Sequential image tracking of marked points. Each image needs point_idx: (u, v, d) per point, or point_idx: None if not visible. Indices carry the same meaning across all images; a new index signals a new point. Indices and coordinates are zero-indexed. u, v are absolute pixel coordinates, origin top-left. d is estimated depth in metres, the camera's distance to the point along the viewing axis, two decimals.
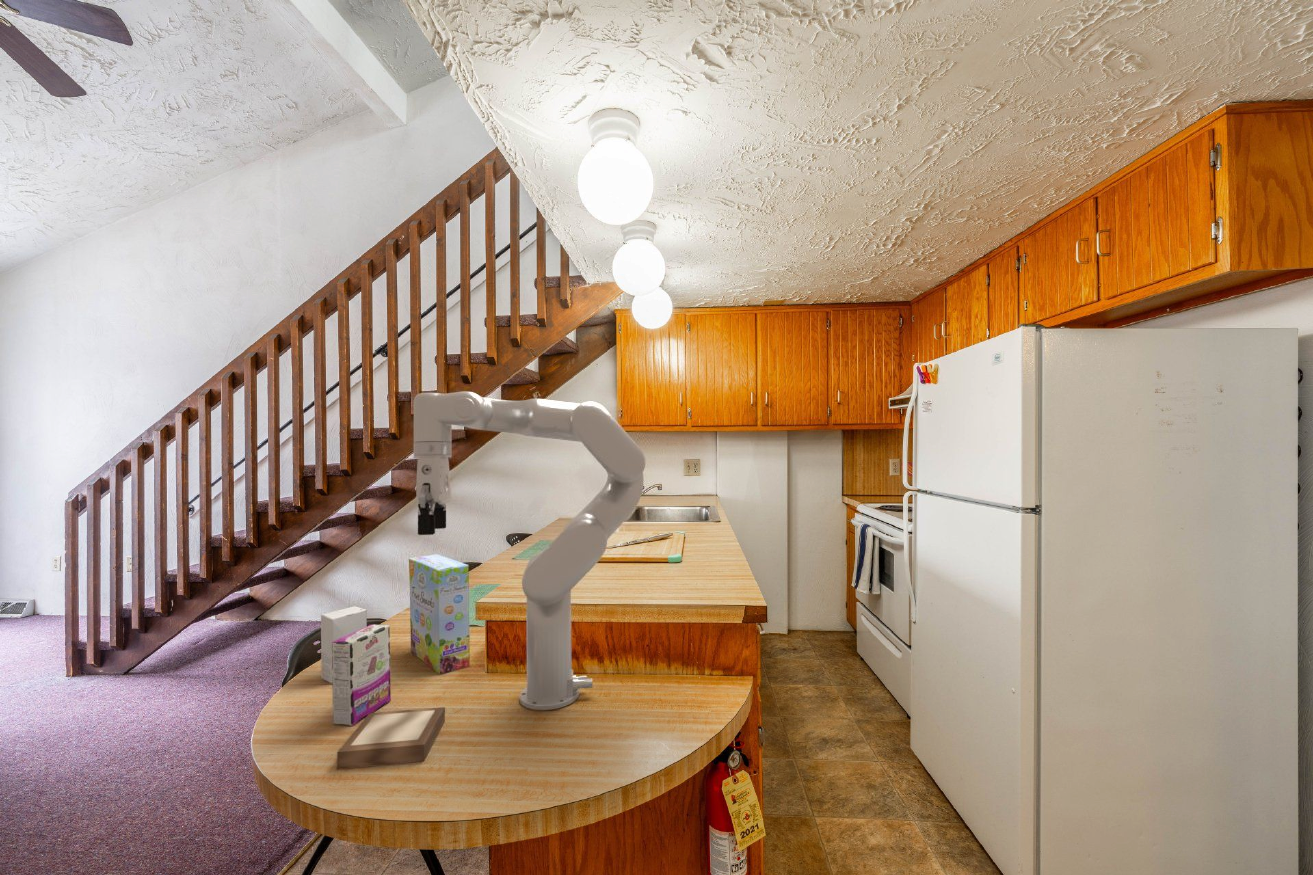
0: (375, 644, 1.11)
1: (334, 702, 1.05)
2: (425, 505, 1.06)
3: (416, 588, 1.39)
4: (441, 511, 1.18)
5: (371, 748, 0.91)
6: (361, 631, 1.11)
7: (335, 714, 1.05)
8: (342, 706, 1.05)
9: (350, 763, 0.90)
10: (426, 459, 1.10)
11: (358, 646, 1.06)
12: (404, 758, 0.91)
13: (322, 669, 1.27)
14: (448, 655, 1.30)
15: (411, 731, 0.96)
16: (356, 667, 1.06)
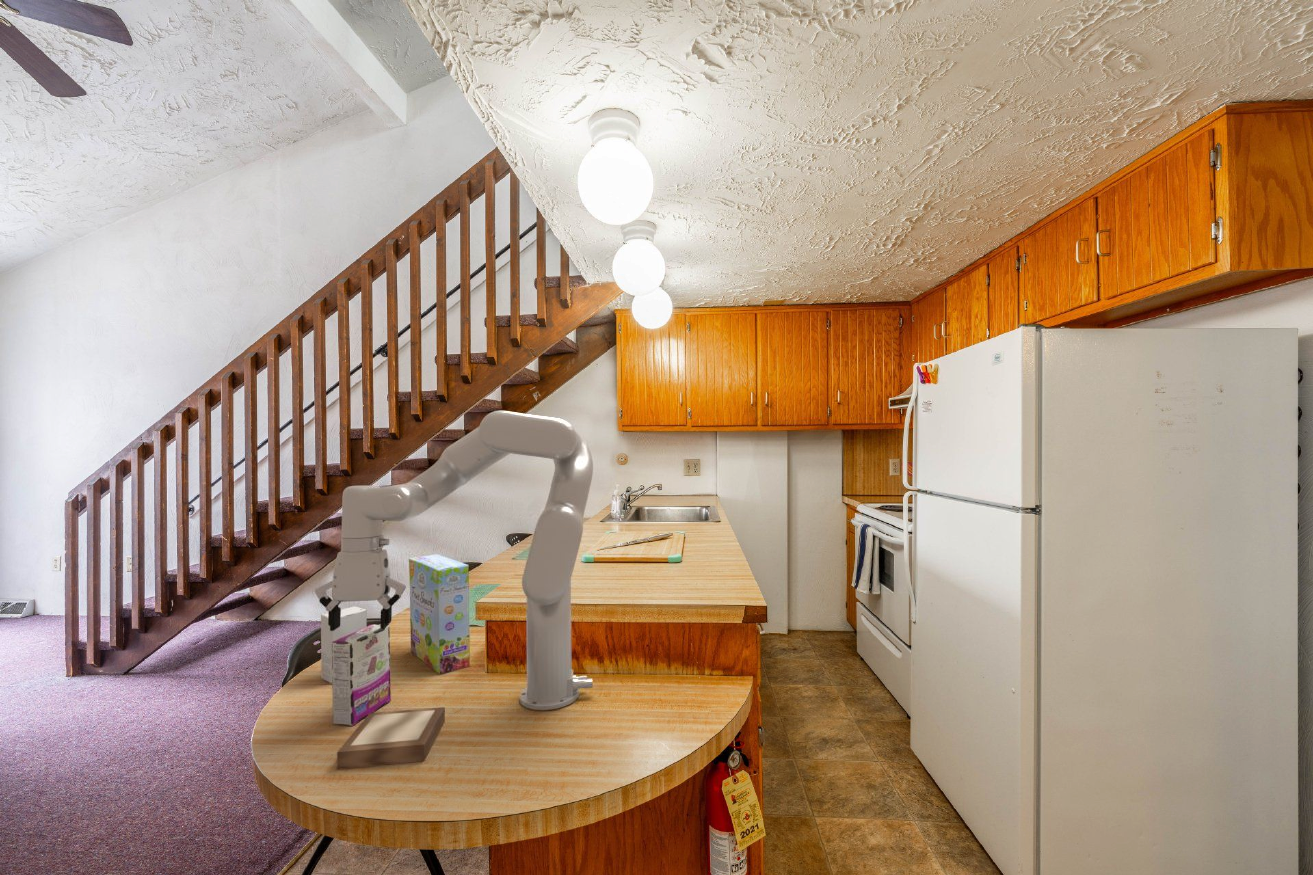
0: (375, 644, 1.11)
1: (334, 702, 1.05)
2: (400, 596, 1.12)
3: (416, 588, 1.39)
4: (338, 609, 1.11)
5: (371, 748, 0.91)
6: (361, 631, 1.11)
7: (335, 714, 1.05)
8: (342, 706, 1.05)
9: (350, 763, 0.90)
10: (384, 553, 1.12)
11: (358, 646, 1.06)
12: (404, 758, 0.91)
13: (322, 669, 1.27)
14: (448, 655, 1.30)
15: (411, 731, 0.96)
16: (356, 667, 1.06)
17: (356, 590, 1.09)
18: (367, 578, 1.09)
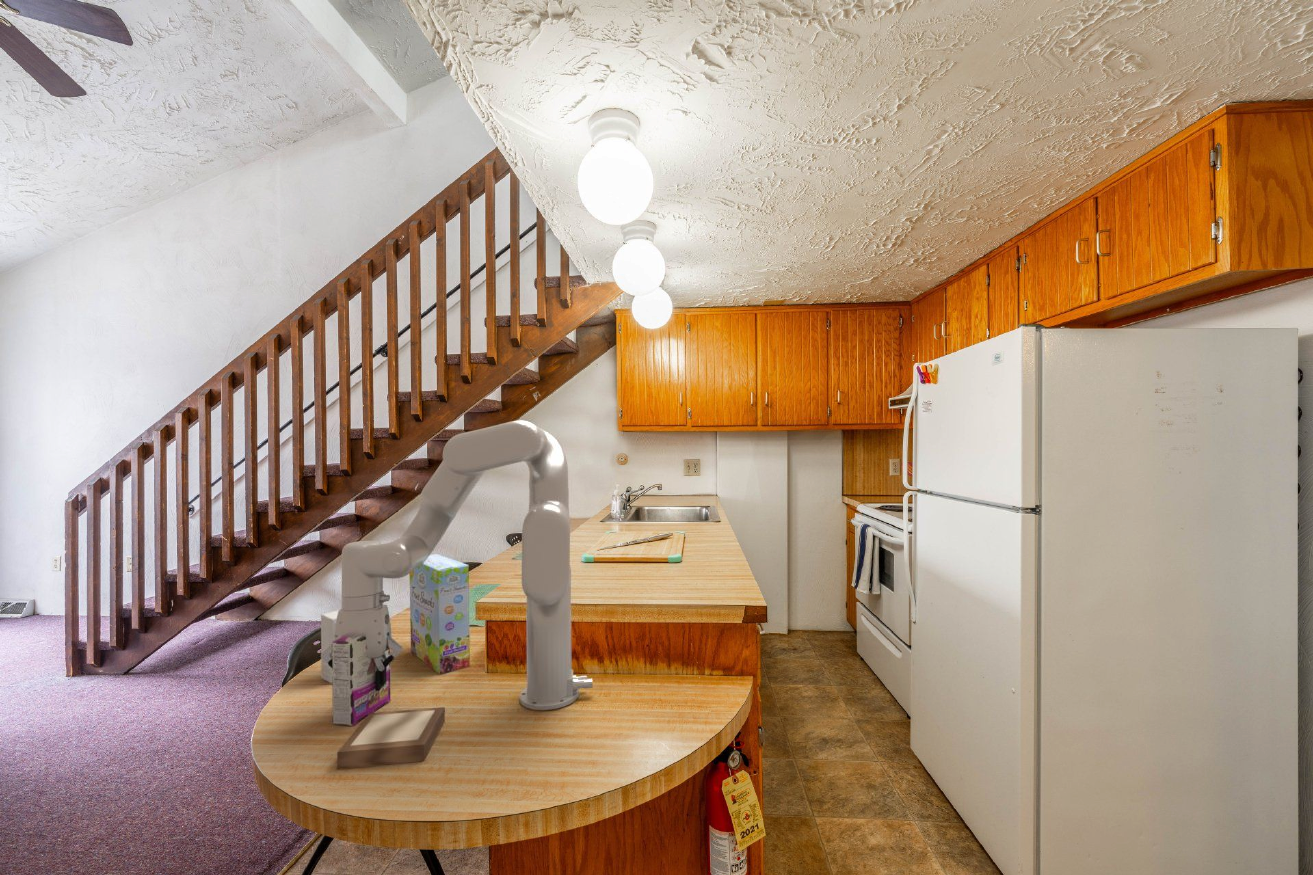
0: None
1: (333, 702, 1.05)
2: None
3: (416, 588, 1.39)
4: None
5: (371, 748, 0.91)
6: None
7: (335, 714, 1.05)
8: (342, 706, 1.05)
9: (350, 763, 0.90)
10: (384, 609, 1.11)
11: (358, 646, 1.06)
12: (404, 758, 0.91)
13: (322, 669, 1.27)
14: (448, 655, 1.30)
15: (411, 731, 0.96)
16: (356, 667, 1.06)
17: None
18: (368, 636, 1.08)
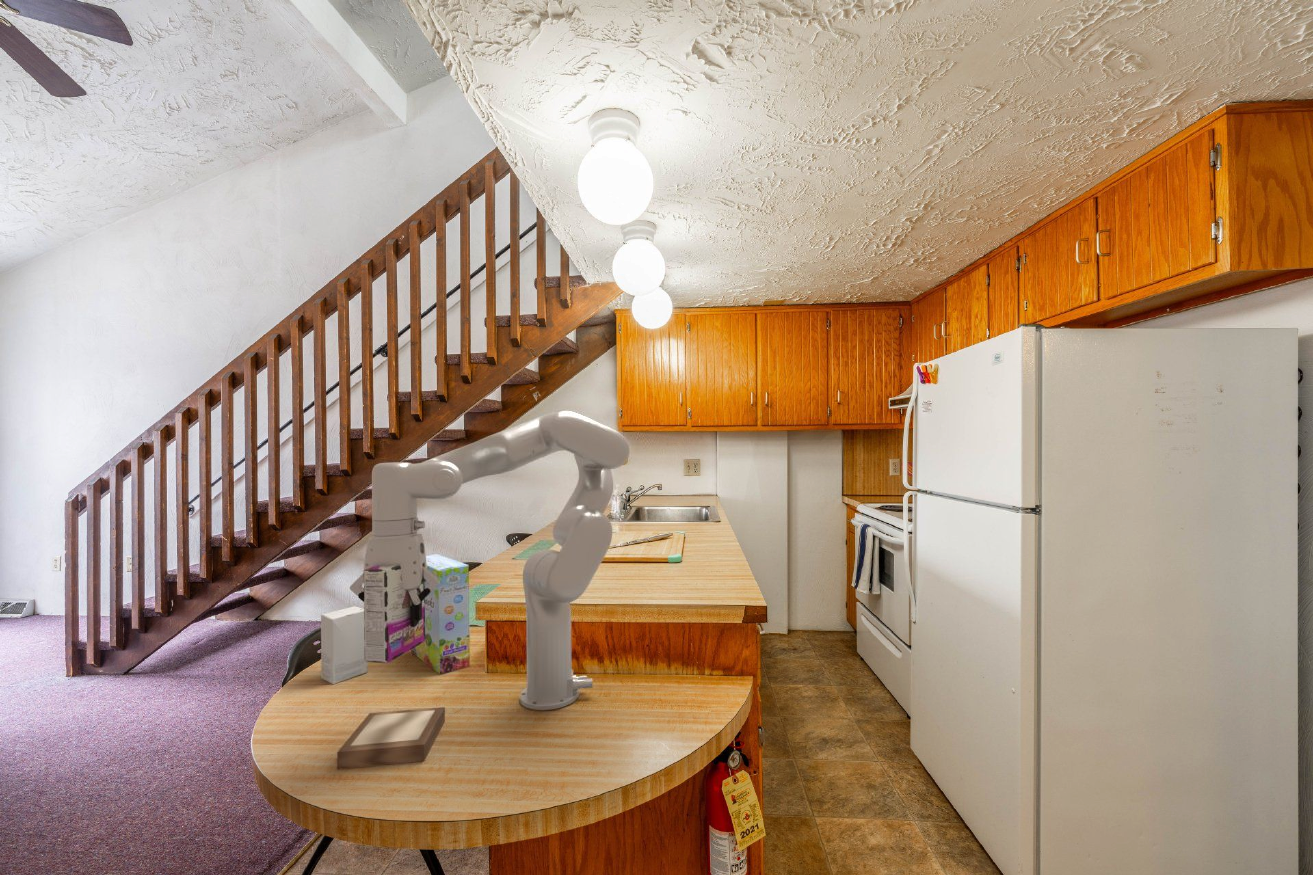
0: None
1: (365, 637, 0.94)
2: (430, 591, 1.00)
3: None
4: None
5: (371, 748, 0.91)
6: None
7: (367, 650, 0.94)
8: (375, 641, 0.93)
9: (350, 763, 0.90)
10: (419, 537, 1.00)
11: (392, 575, 0.95)
12: (404, 758, 0.91)
13: (322, 669, 1.27)
14: (448, 655, 1.30)
15: (411, 731, 0.96)
16: (391, 598, 0.94)
17: None
18: (402, 565, 0.97)
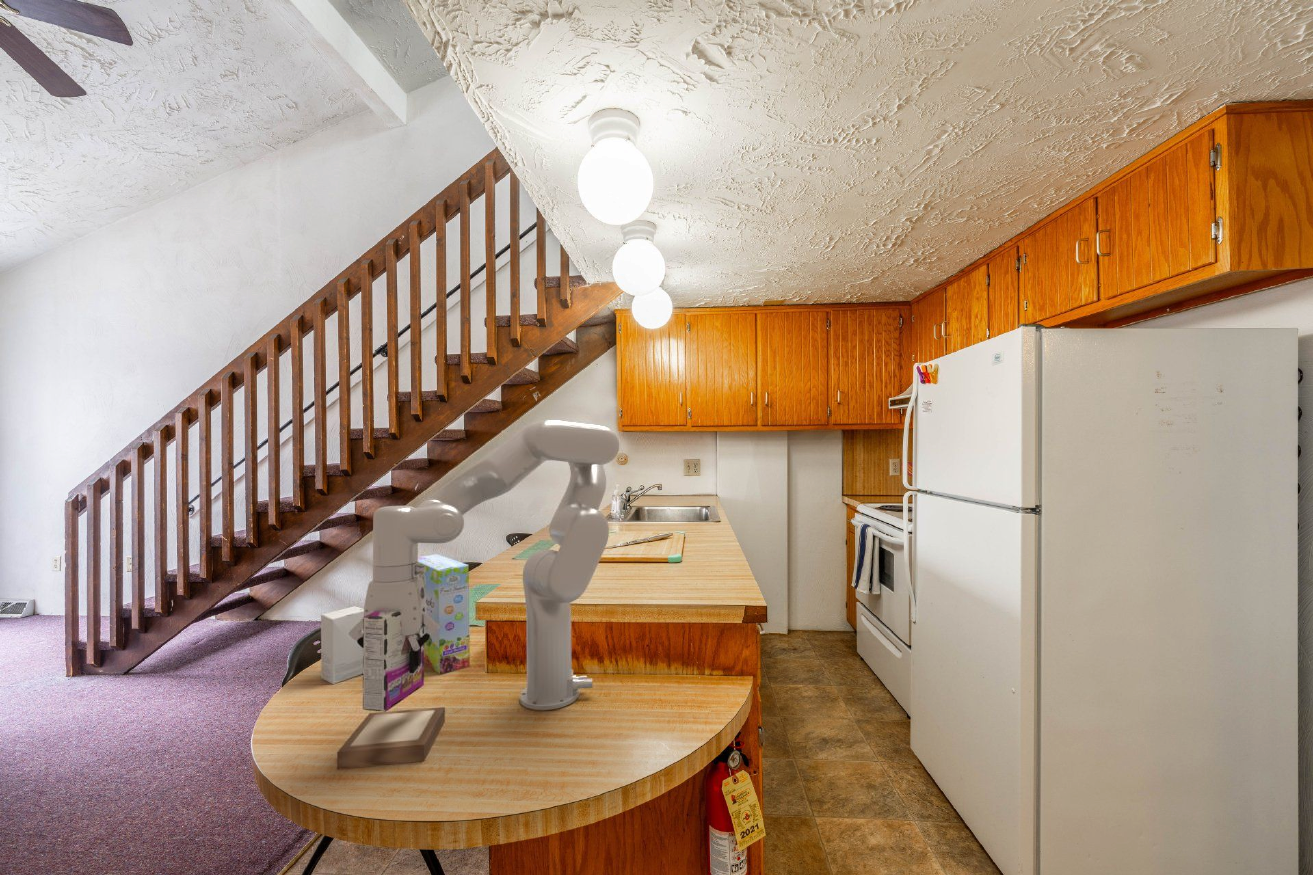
0: None
1: (364, 685, 0.93)
2: None
3: None
4: None
5: (371, 748, 0.91)
6: None
7: (365, 698, 0.93)
8: (374, 690, 0.93)
9: (350, 763, 0.90)
10: (420, 581, 0.99)
11: (392, 621, 0.94)
12: (404, 758, 0.91)
13: (322, 669, 1.27)
14: (448, 655, 1.30)
15: (411, 731, 0.96)
16: (390, 646, 0.94)
17: None
18: (402, 611, 0.96)
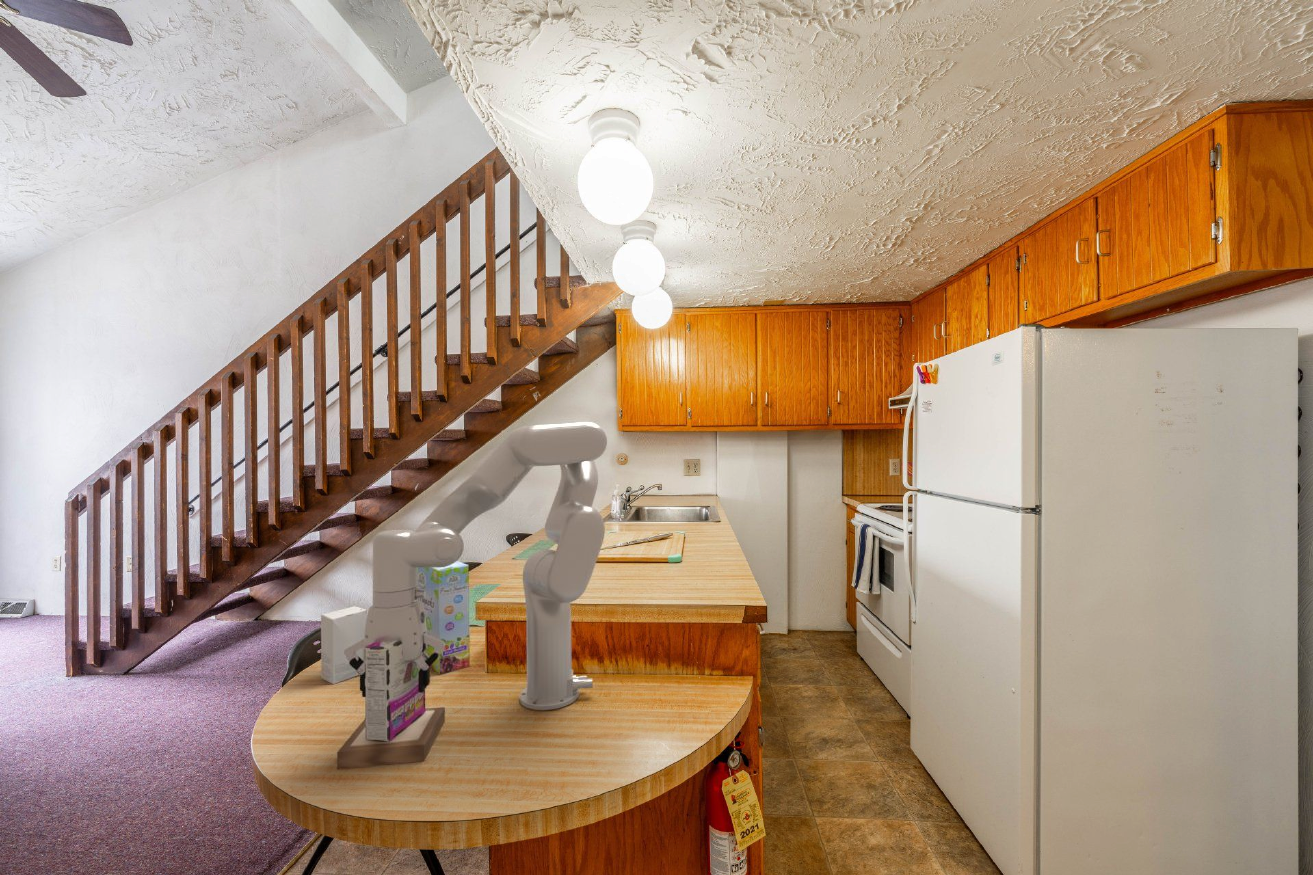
0: None
1: (367, 715, 0.93)
2: None
3: None
4: None
5: (371, 748, 0.91)
6: None
7: (368, 729, 0.93)
8: (377, 720, 0.93)
9: (350, 763, 0.90)
10: (420, 606, 0.99)
11: (394, 651, 0.94)
12: (404, 758, 0.91)
13: (322, 669, 1.27)
14: (448, 655, 1.30)
15: (411, 731, 0.96)
16: (392, 676, 0.94)
17: None
18: (403, 636, 0.96)
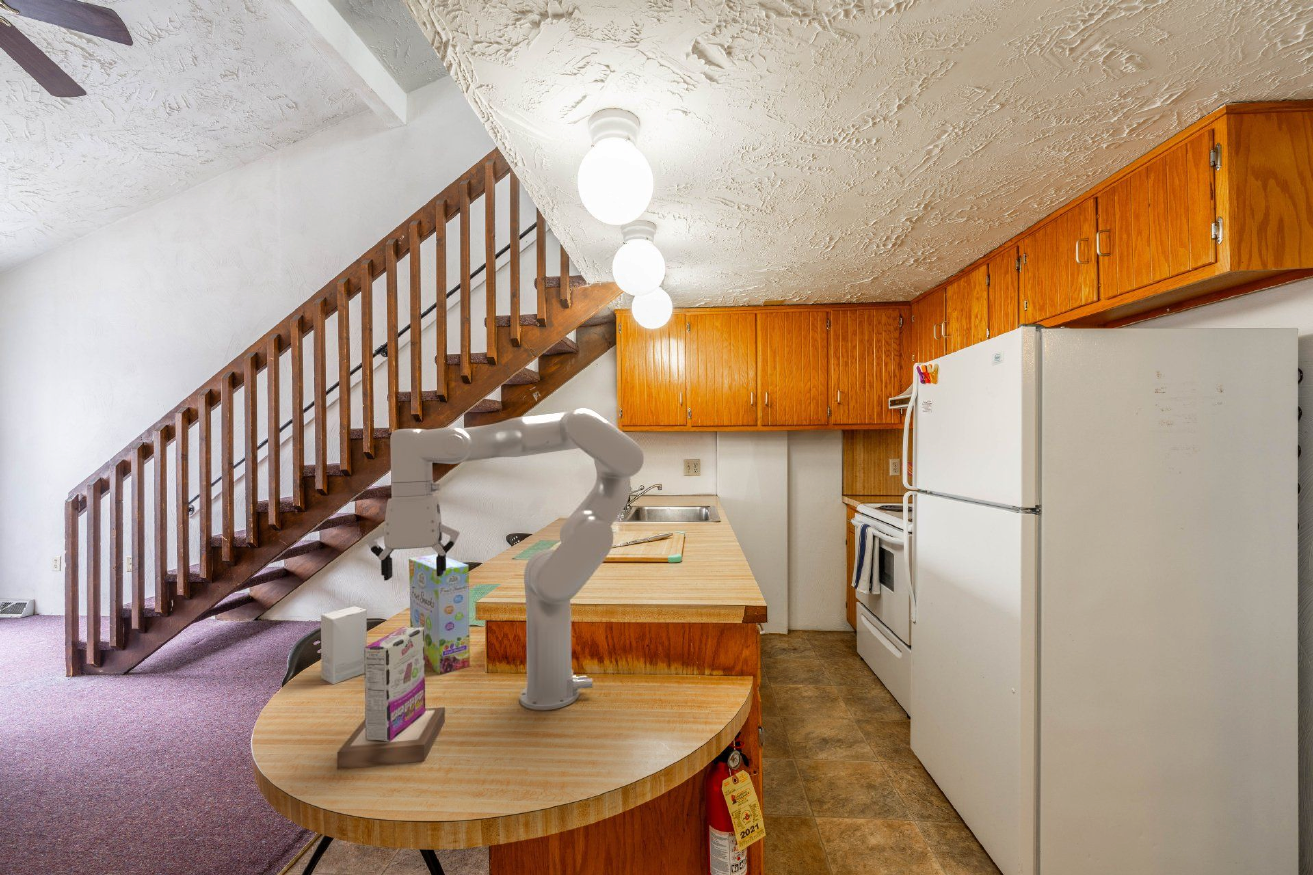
0: (411, 648, 0.99)
1: (367, 715, 0.93)
2: None
3: (416, 588, 1.39)
4: (390, 558, 1.06)
5: (371, 748, 0.91)
6: (394, 635, 0.99)
7: (368, 729, 0.93)
8: (377, 720, 0.93)
9: (350, 763, 0.90)
10: (436, 498, 1.07)
11: (394, 651, 0.94)
12: (404, 758, 0.91)
13: (322, 669, 1.27)
14: (448, 655, 1.30)
15: (411, 731, 0.96)
16: (392, 676, 0.94)
17: (410, 536, 1.04)
18: (421, 524, 1.04)
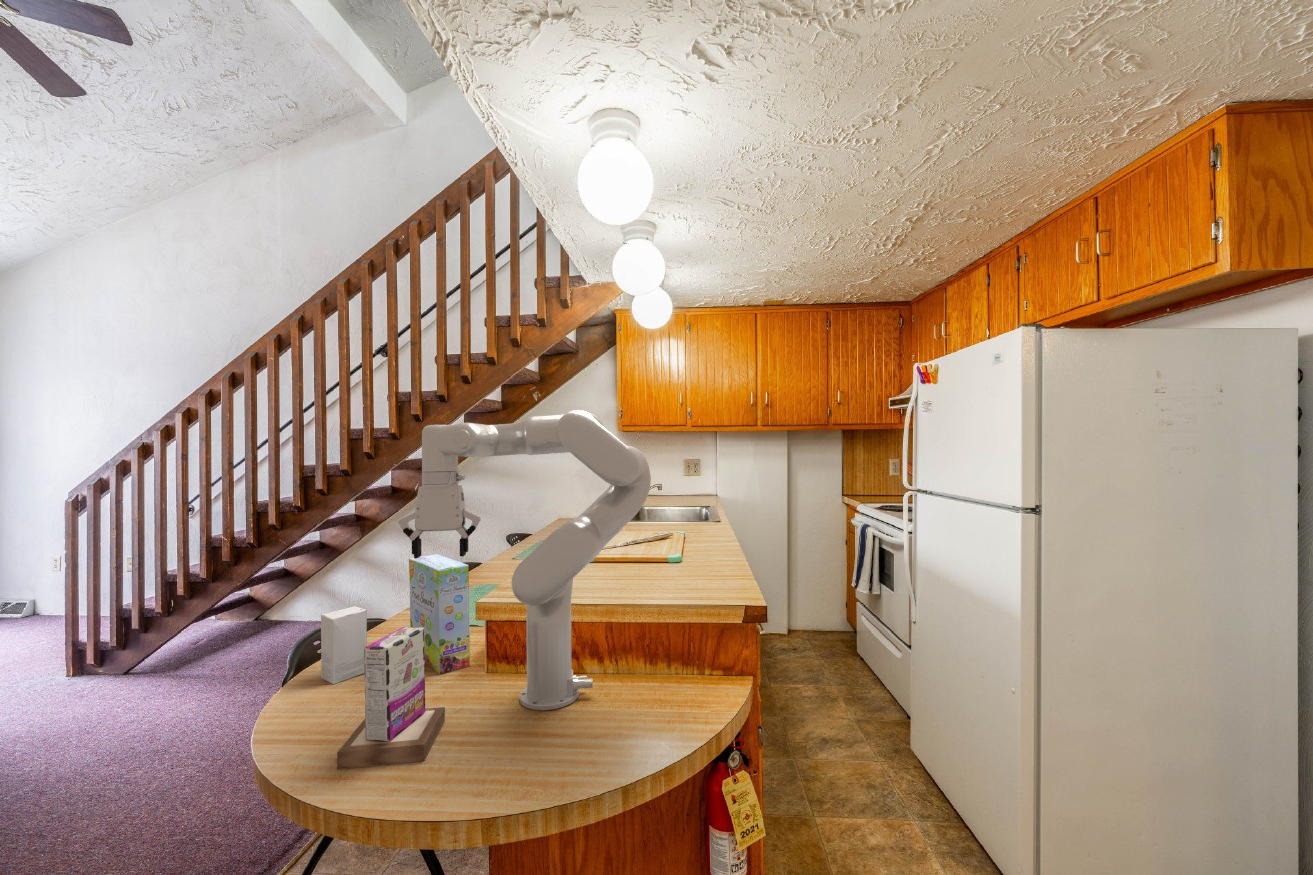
0: (411, 648, 0.99)
1: (367, 715, 0.93)
2: (475, 527, 1.21)
3: (416, 588, 1.39)
4: (420, 539, 1.19)
5: (371, 748, 0.91)
6: (394, 635, 0.99)
7: (368, 729, 0.93)
8: (377, 720, 0.93)
9: (350, 763, 0.90)
10: (460, 487, 1.20)
11: (394, 651, 0.94)
12: (404, 758, 0.91)
13: (322, 669, 1.27)
14: (448, 655, 1.30)
15: (411, 731, 0.96)
16: (392, 676, 0.94)
17: (437, 520, 1.17)
18: (447, 509, 1.17)
